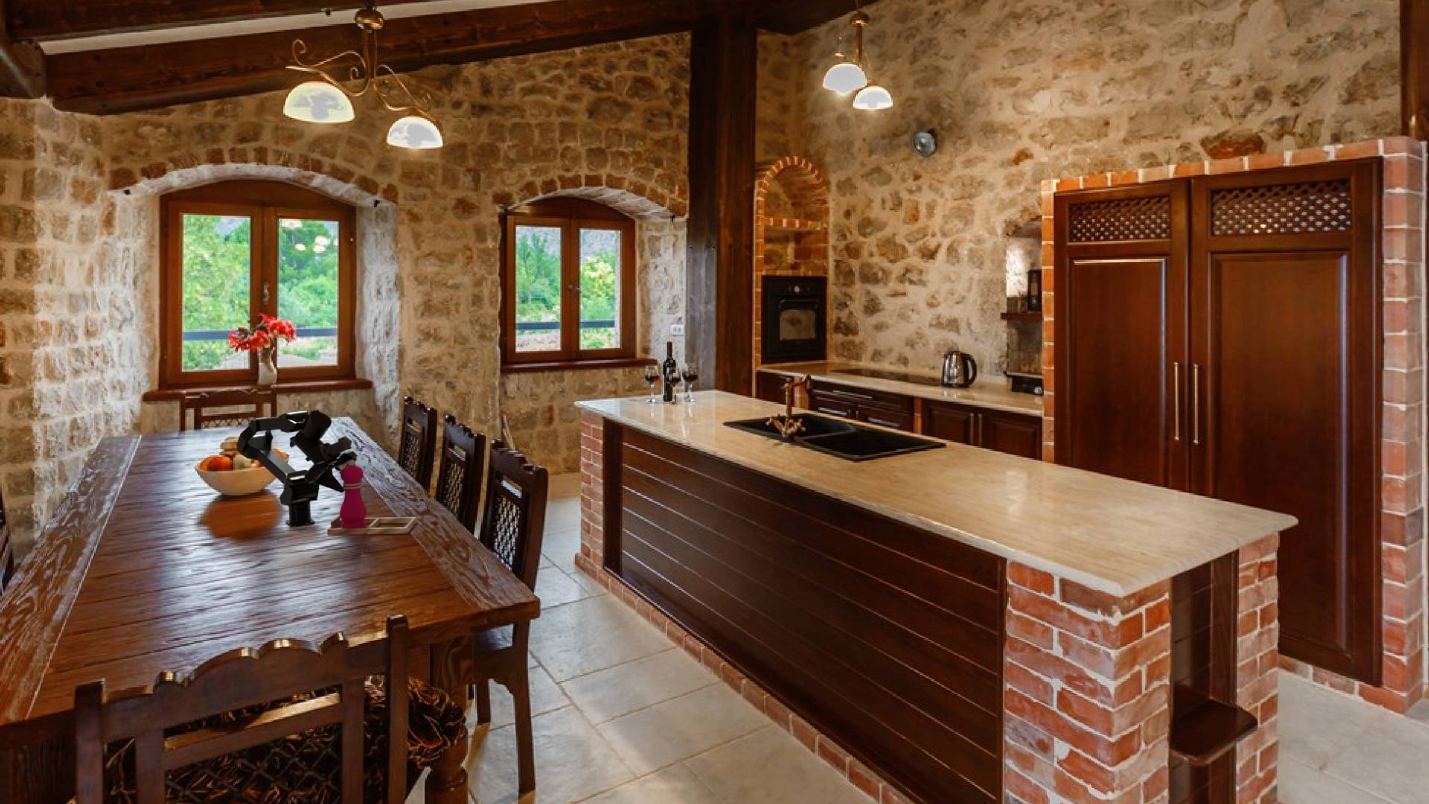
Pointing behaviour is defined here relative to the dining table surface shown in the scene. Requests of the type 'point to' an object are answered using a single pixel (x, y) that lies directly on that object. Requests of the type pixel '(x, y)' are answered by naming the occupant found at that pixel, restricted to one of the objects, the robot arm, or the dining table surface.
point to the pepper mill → (352, 497)
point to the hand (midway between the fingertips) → (352, 487)
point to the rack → (372, 526)
